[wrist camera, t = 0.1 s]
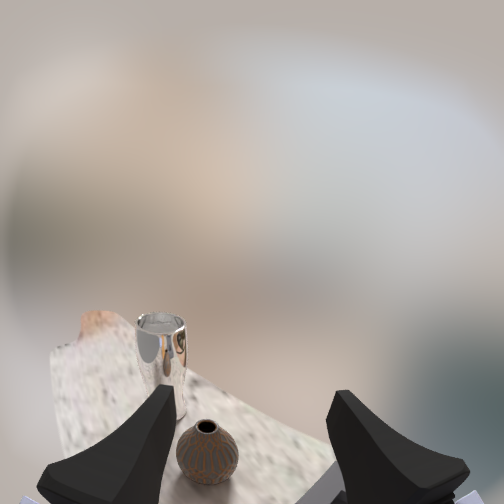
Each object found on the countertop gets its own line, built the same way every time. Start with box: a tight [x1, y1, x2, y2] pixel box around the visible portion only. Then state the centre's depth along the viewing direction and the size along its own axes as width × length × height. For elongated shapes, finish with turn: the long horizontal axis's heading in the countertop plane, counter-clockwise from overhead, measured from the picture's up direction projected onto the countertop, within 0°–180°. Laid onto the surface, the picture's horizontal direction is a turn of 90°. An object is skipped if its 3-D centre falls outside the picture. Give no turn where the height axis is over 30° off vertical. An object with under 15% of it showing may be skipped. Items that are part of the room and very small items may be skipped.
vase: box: [176, 419, 239, 485], centre depth 24 cm, size 7×7×9 cm
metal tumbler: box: [135, 312, 188, 421], centre depth 34 cm, size 7×7×15 cm
